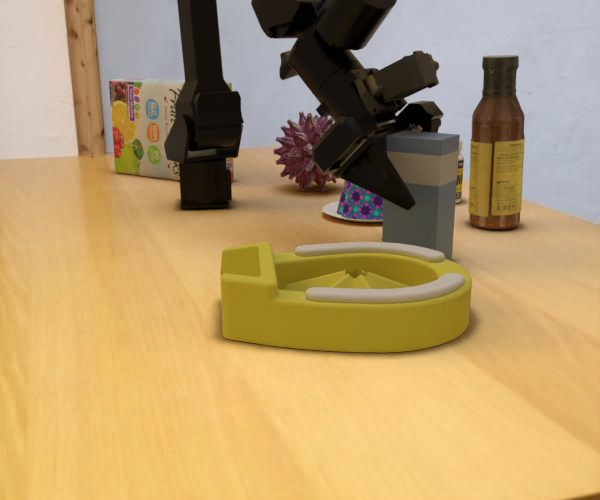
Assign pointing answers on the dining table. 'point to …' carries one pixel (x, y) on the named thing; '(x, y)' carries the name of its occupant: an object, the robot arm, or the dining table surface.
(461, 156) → the supplement bottle
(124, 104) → the snack box
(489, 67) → the sauce bottle
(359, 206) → the pudding
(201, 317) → the dining table surface
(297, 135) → the flower
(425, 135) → the block
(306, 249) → the yellow curved tray
